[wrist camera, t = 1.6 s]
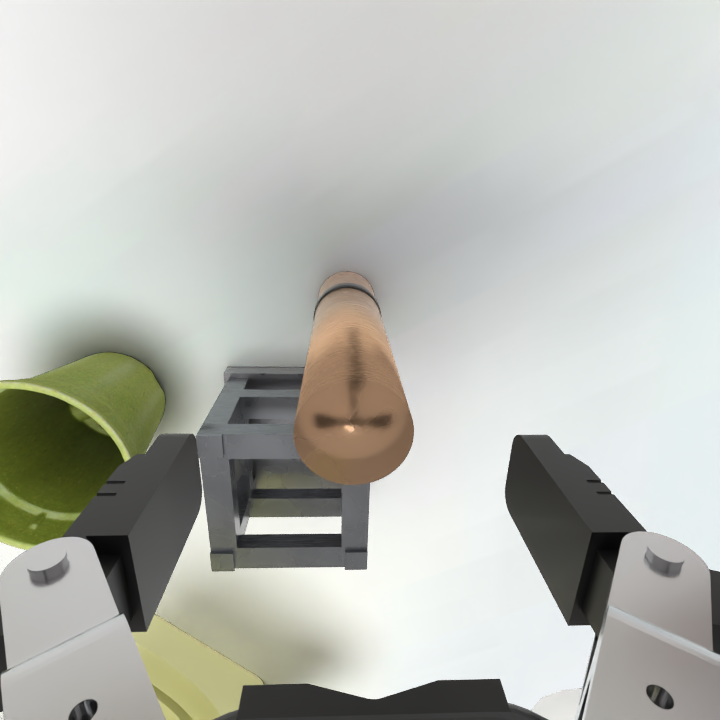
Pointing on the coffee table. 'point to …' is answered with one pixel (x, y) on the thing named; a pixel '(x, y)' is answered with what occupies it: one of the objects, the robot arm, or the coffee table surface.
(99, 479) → the plant pot
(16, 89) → the coffee table surface
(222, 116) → the coffee table surface
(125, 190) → the coffee table surface
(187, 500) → the robot arm
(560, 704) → the figurine
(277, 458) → the metal frame cube
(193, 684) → the slatted curved stool
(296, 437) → the tube
